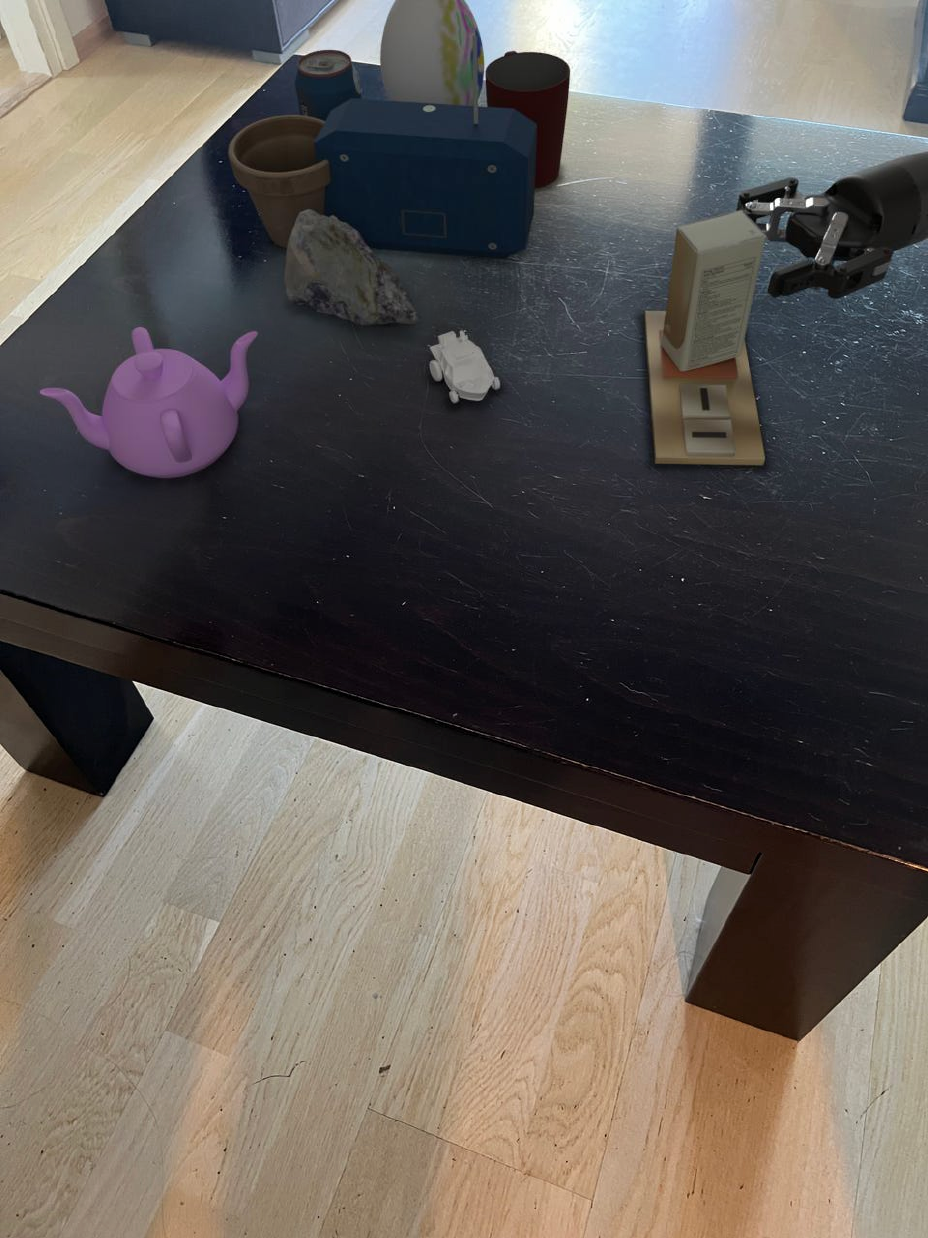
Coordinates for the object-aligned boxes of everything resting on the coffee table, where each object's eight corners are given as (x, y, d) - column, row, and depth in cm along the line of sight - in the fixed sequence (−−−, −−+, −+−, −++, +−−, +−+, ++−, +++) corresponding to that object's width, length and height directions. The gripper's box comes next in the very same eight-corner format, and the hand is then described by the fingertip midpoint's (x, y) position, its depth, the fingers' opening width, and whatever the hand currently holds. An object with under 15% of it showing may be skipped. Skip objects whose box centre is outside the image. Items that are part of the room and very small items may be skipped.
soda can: (377, 158, 114) (364, 48, 104) (360, 189, 110) (345, 78, 100) (321, 153, 115) (303, 44, 105) (302, 184, 111) (282, 74, 101)
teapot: (76, 470, 84) (36, 389, 77) (172, 374, 91) (143, 293, 84) (187, 511, 81) (156, 430, 74) (278, 408, 88) (257, 326, 81)
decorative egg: (485, 138, 115) (481, -2, 103) (382, 141, 116) (367, 2, 104) (485, 89, 123) (482, -47, 111) (389, 92, 123) (375, -43, 111)
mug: (471, 146, 114) (468, 46, 105) (544, 134, 115) (546, 34, 107) (499, 199, 107) (498, 96, 98) (575, 185, 108) (581, 82, 99)
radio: (535, 218, 105) (542, 16, 89) (523, 266, 100) (529, 59, 84) (347, 204, 107) (321, 4, 91) (326, 249, 102) (295, 46, 86)
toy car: (470, 351, 92) (469, 314, 88) (510, 401, 87) (510, 363, 84) (424, 367, 91) (421, 330, 87) (462, 418, 86) (460, 381, 83)
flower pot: (339, 270, 101) (325, 176, 92) (233, 261, 102) (211, 168, 94) (364, 209, 107) (354, 117, 99) (265, 201, 109) (247, 110, 101)
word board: (763, 465, 81) (766, 453, 80) (654, 463, 82) (656, 451, 81) (738, 318, 93) (741, 305, 92) (643, 317, 94) (645, 304, 93)
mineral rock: (425, 338, 93) (417, 243, 85) (319, 369, 91) (300, 274, 83) (382, 267, 100) (370, 173, 92) (282, 293, 98) (261, 200, 90)
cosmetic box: (719, 329, 91) (745, 207, 81) (742, 357, 88) (771, 234, 78) (656, 345, 90) (674, 223, 80) (677, 374, 87) (698, 251, 77)
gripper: (849, 129, 87) (699, 178, 83) (965, 204, 80) (804, 262, 76) (828, 207, 93) (686, 256, 90) (933, 284, 86) (783, 342, 82)
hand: (740, 259), depth 83 cm, fingers open, 8 cm apart
